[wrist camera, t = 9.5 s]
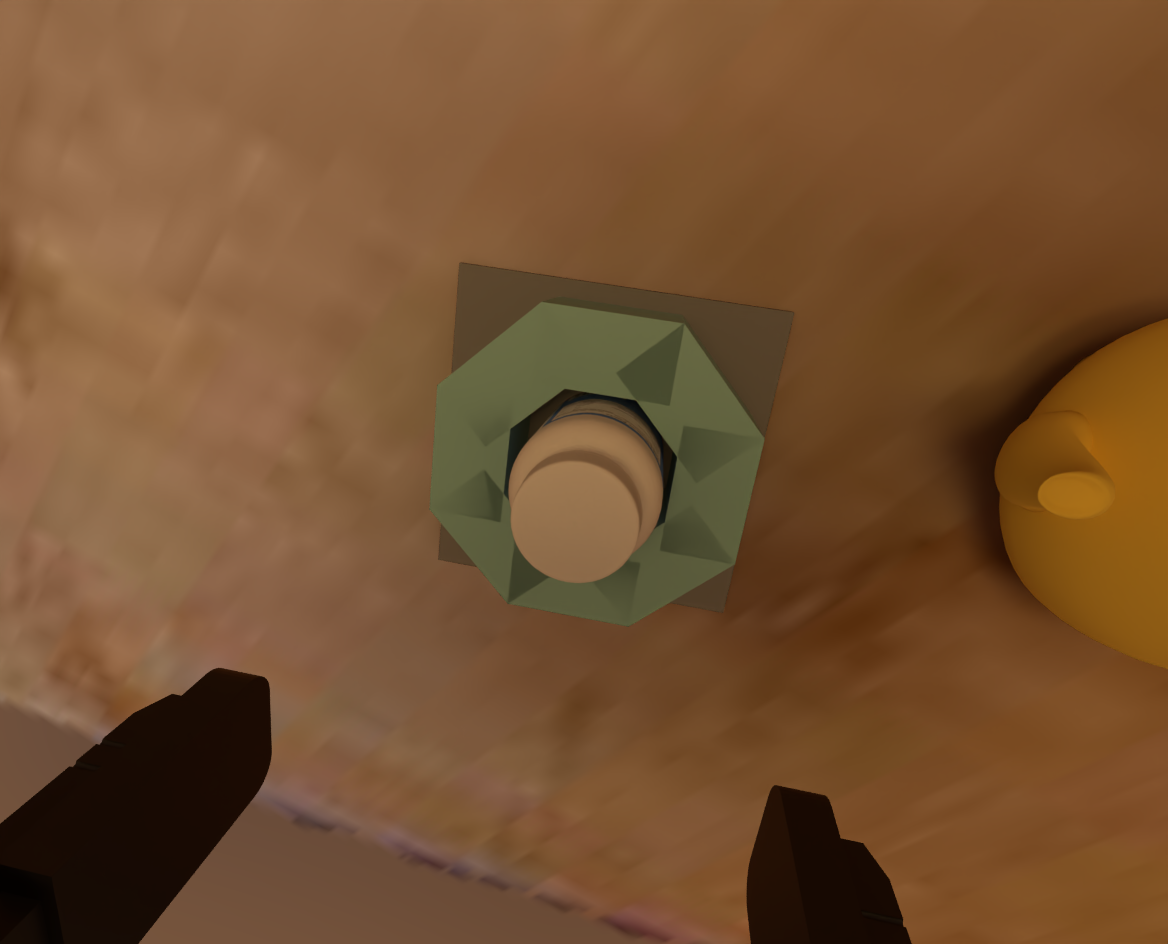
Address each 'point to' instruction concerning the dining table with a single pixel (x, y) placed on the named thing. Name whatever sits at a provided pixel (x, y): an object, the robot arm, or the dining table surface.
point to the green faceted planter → (614, 368)
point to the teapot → (1097, 496)
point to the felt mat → (727, 330)
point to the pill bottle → (587, 488)
